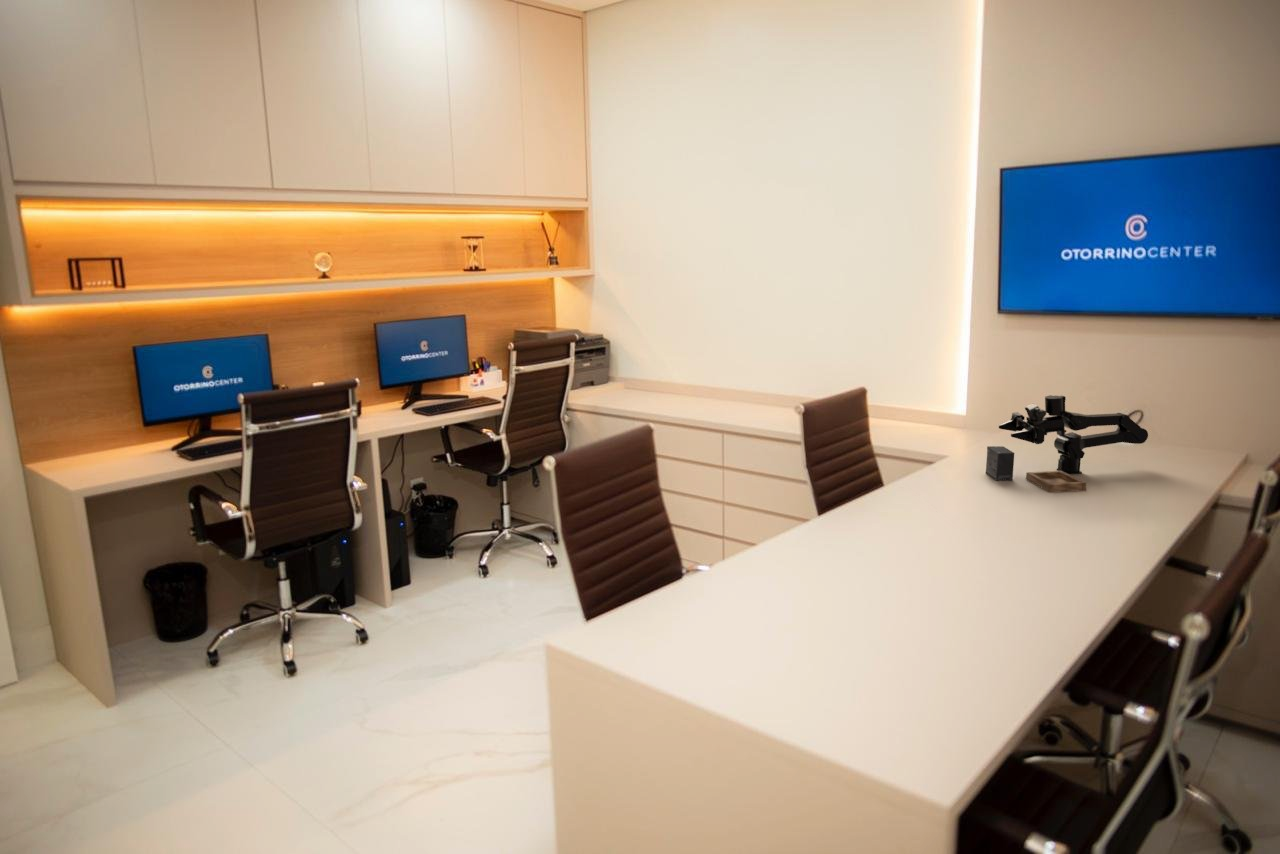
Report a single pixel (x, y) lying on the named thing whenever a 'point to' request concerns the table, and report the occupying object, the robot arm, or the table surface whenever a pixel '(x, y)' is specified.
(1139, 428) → the robot arm
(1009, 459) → the small box
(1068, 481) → the walnut holder
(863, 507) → the table surface
